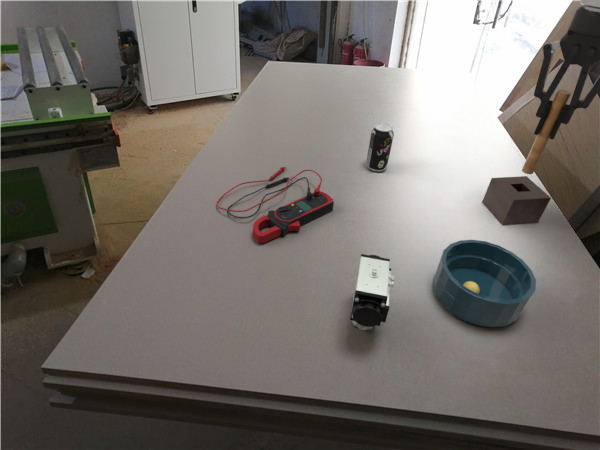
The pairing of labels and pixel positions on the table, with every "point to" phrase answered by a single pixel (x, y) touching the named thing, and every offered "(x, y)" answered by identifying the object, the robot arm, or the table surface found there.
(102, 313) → the table surface
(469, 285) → the bead
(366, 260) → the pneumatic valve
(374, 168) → the beverage can
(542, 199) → the holder
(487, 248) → the bowl
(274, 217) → the digital clamp meter
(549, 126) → the stirring stick
